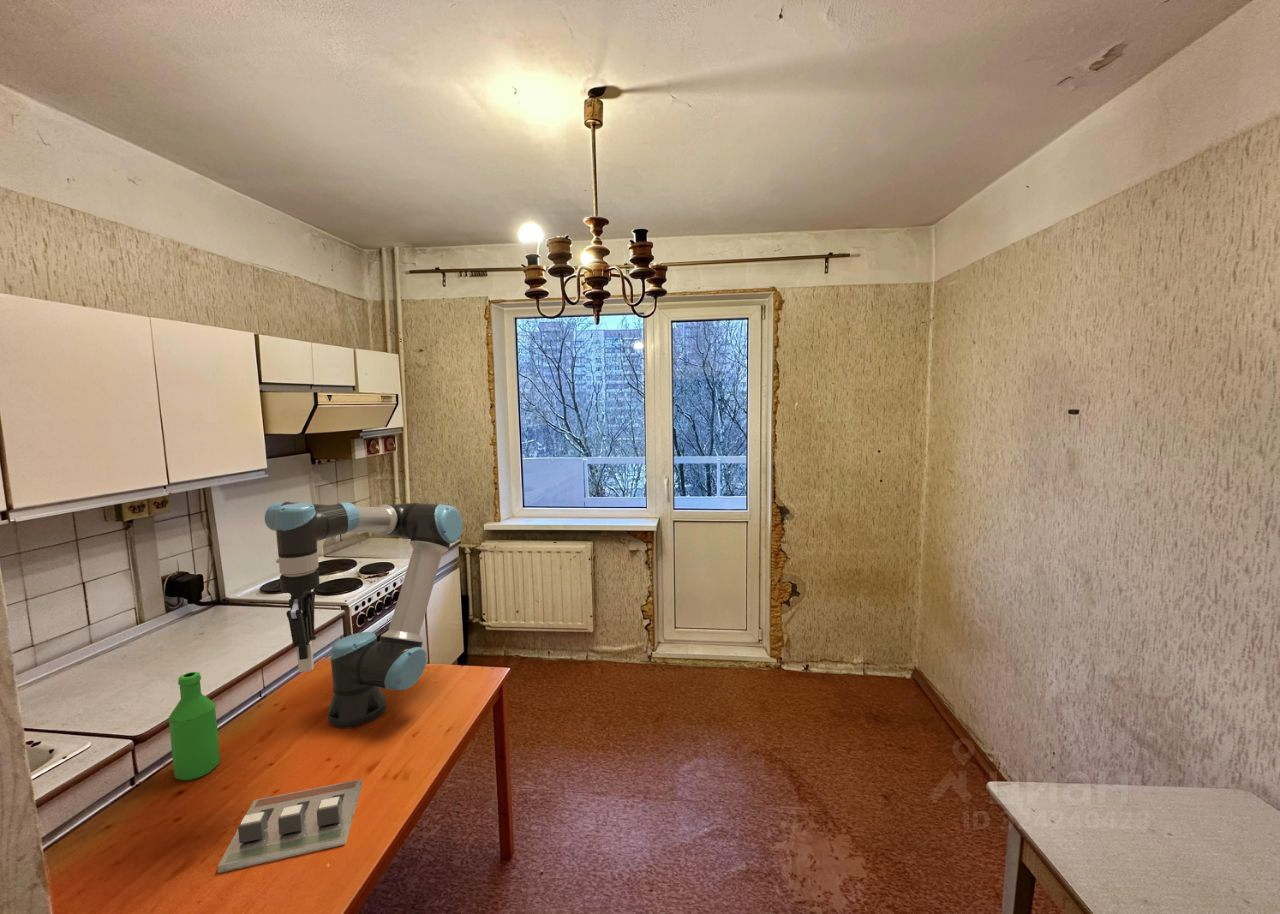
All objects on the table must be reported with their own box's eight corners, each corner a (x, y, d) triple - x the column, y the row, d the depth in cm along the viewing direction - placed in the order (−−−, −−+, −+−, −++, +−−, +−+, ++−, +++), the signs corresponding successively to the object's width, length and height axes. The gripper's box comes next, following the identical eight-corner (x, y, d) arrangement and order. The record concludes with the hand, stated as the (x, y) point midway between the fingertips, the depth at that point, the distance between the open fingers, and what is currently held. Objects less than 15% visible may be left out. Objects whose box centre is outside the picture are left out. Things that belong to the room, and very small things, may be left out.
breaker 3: (321, 816, 114) (320, 799, 114) (342, 811, 115) (341, 795, 115) (317, 826, 111) (316, 809, 111) (339, 822, 112) (337, 805, 112)
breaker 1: (245, 831, 110) (243, 814, 109) (267, 827, 111) (266, 810, 110) (239, 843, 107) (237, 825, 106) (262, 838, 108) (261, 820, 108)
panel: (254, 806, 119) (253, 799, 119) (362, 784, 126) (361, 778, 126) (218, 873, 102) (217, 865, 102) (345, 844, 109) (344, 837, 109)
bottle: (227, 764, 133) (219, 670, 130) (186, 787, 125) (177, 687, 122) (208, 754, 137) (200, 663, 134) (166, 776, 129) (157, 679, 126)
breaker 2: (284, 824, 112) (282, 807, 111) (305, 819, 113) (304, 802, 113) (279, 835, 109) (277, 817, 108) (301, 830, 110) (300, 813, 110)
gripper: (289, 564, 125) (296, 659, 127) (270, 582, 113) (278, 686, 115) (325, 561, 127) (331, 654, 130) (310, 579, 115) (316, 681, 117)
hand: (306, 669), depth 122 cm, fingers closed
